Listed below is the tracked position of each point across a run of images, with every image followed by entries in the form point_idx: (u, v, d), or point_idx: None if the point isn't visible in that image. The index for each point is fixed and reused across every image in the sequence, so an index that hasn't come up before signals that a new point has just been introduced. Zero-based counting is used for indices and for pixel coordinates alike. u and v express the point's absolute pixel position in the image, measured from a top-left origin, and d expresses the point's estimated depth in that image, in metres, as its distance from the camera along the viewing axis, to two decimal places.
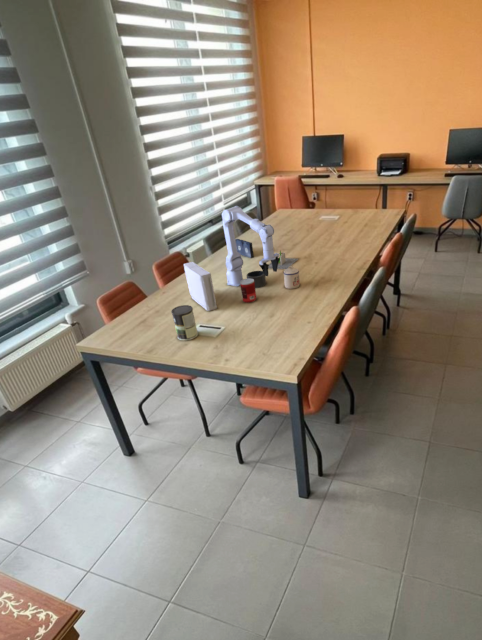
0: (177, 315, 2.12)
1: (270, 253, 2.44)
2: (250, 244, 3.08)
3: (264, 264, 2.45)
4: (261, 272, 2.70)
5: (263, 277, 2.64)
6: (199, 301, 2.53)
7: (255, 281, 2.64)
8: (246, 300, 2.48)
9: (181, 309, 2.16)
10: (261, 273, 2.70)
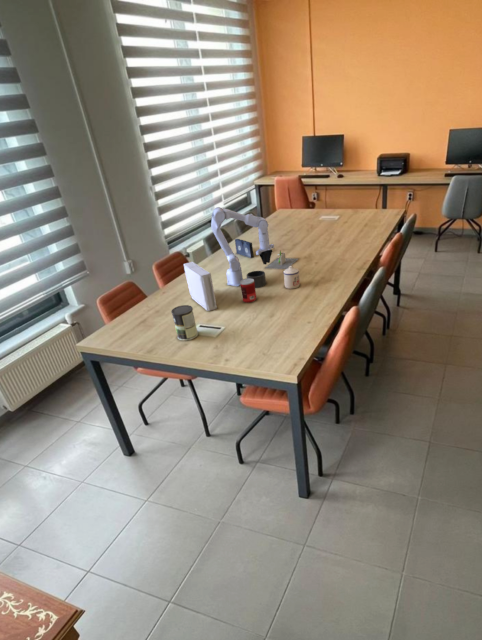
0: (177, 315, 2.12)
1: (266, 244, 2.61)
2: (250, 244, 3.08)
3: (263, 253, 2.64)
4: (261, 272, 2.70)
5: (263, 277, 2.64)
6: (199, 301, 2.53)
7: (255, 281, 2.64)
8: (246, 300, 2.48)
9: (181, 309, 2.16)
10: (261, 273, 2.70)
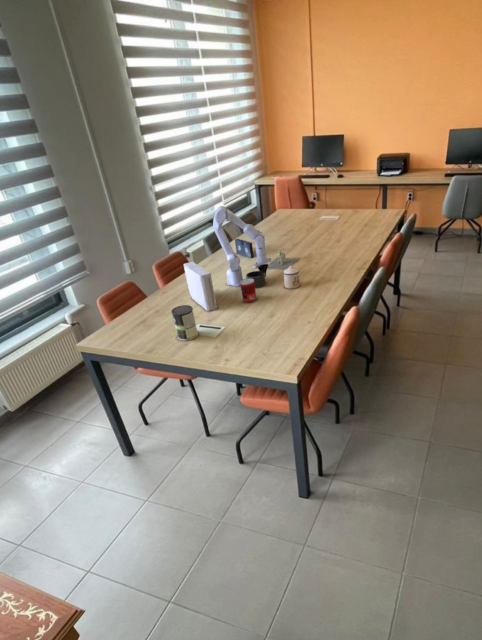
0: (177, 315, 2.12)
1: (263, 258, 2.63)
2: (250, 244, 3.08)
3: (261, 266, 2.67)
4: (260, 272, 2.69)
5: (262, 277, 2.64)
6: (199, 301, 2.53)
7: (254, 282, 2.63)
8: (246, 300, 2.48)
9: (181, 309, 2.16)
10: (260, 273, 2.70)
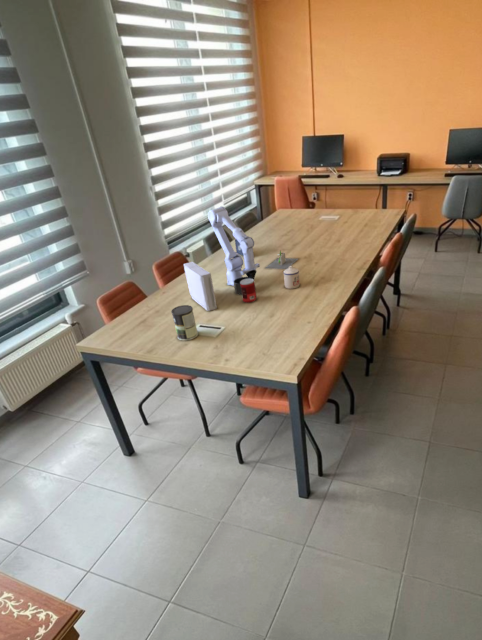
0: (177, 315, 2.12)
1: (251, 264, 2.57)
2: None
3: (249, 272, 2.61)
4: None
5: None
6: (199, 301, 2.53)
7: None
8: (246, 300, 2.48)
9: (181, 309, 2.16)
10: None
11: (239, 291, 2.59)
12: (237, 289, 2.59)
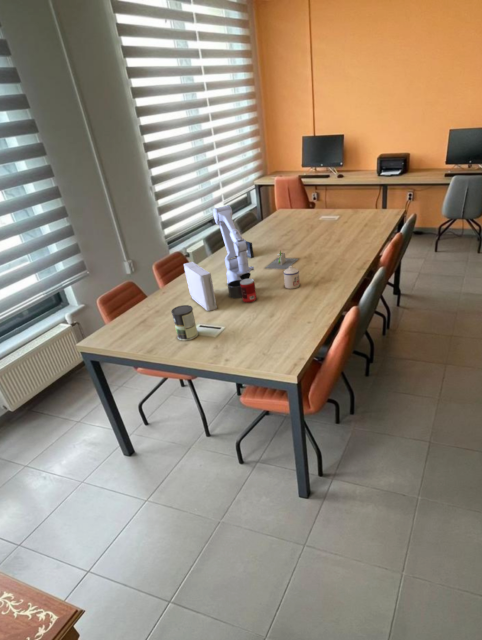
0: (177, 315, 2.12)
1: (245, 267, 2.54)
2: (250, 244, 3.08)
3: (243, 275, 2.58)
4: None
5: None
6: (199, 301, 2.53)
7: (236, 291, 2.54)
8: (246, 300, 2.48)
9: (181, 309, 2.16)
10: None
11: (233, 294, 2.56)
12: (231, 292, 2.56)
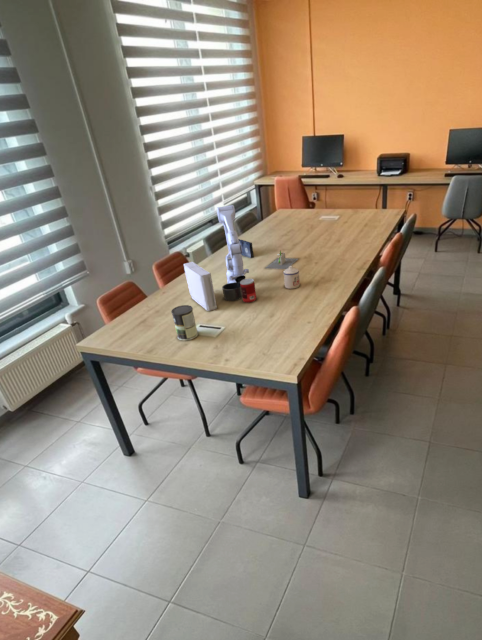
0: (177, 315, 2.12)
1: (239, 269, 2.52)
2: (250, 244, 3.08)
3: (238, 277, 2.55)
4: (238, 284, 2.58)
5: (239, 289, 2.53)
6: (199, 301, 2.53)
7: (230, 294, 2.52)
8: (246, 300, 2.48)
9: (181, 309, 2.16)
10: (237, 285, 2.58)
11: (228, 297, 2.54)
12: (226, 295, 2.54)
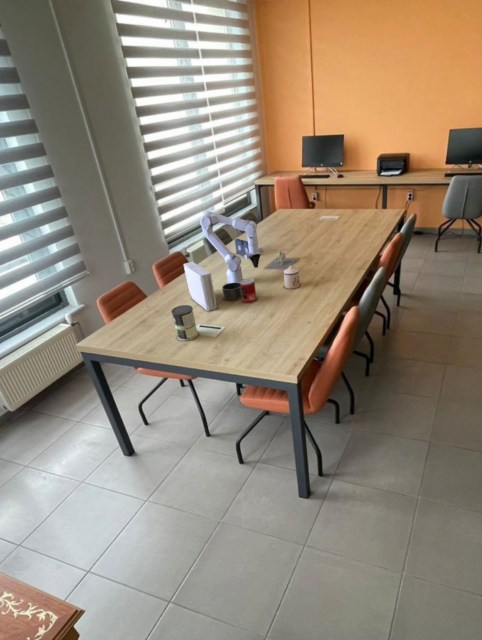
0: (177, 315, 2.12)
1: (255, 247, 2.58)
2: None
3: (253, 256, 2.61)
4: (238, 284, 2.58)
5: (239, 289, 2.53)
6: (199, 301, 2.53)
7: (230, 294, 2.52)
8: (246, 300, 2.48)
9: (181, 309, 2.16)
10: (237, 285, 2.58)
11: (228, 297, 2.54)
12: (226, 295, 2.54)
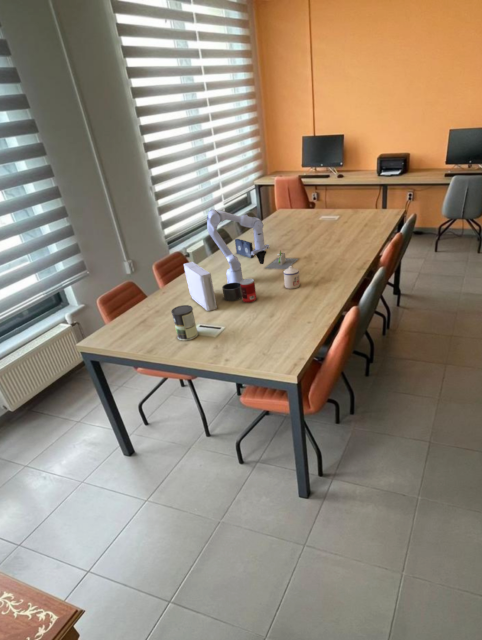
0: (177, 315, 2.12)
1: (261, 244, 2.62)
2: (250, 244, 3.08)
3: (259, 252, 2.65)
4: (238, 284, 2.58)
5: (239, 289, 2.53)
6: (199, 301, 2.53)
7: (230, 294, 2.52)
8: (246, 300, 2.48)
9: (181, 309, 2.16)
10: (237, 285, 2.58)
11: (228, 297, 2.54)
12: (226, 295, 2.54)
